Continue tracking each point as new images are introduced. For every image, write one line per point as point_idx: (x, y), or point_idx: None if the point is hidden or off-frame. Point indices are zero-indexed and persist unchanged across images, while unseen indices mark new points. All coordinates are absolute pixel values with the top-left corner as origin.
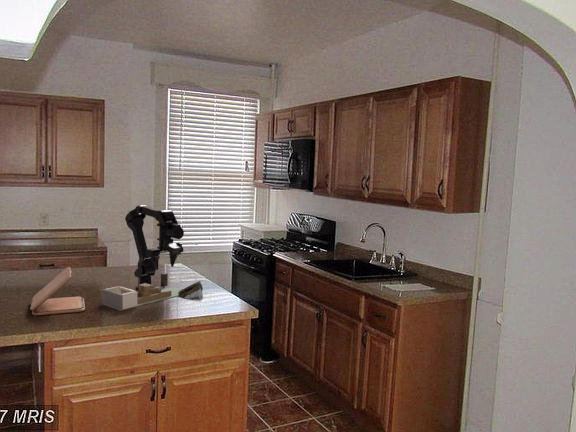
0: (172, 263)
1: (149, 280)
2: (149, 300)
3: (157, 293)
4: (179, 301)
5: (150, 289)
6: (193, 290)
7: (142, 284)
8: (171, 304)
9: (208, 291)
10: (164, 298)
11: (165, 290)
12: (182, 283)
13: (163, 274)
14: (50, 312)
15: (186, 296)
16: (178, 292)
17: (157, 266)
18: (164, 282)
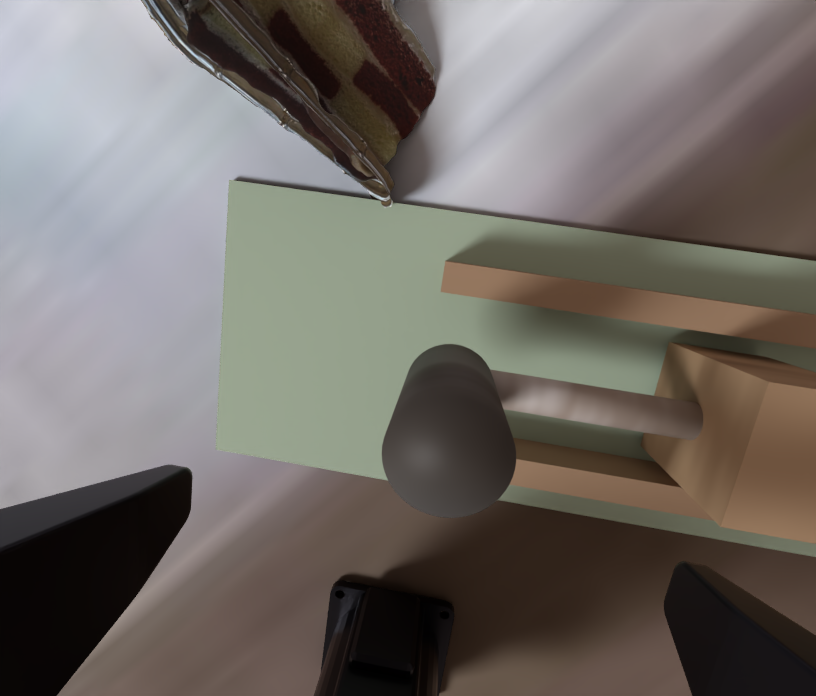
0: (122, 527)
1: (379, 656)
2: (755, 305)
3: (639, 315)
4: (560, 35)
5: (761, 370)
6: None
7: (810, 518)
8: (715, 21)
9: (51, 56)
10: (583, 240)
11: (340, 432)
12: (43, 474)
13: (501, 436)
14: None
15: (418, 44)
16: (390, 198)
17: (791, 630)
18: (484, 369)
